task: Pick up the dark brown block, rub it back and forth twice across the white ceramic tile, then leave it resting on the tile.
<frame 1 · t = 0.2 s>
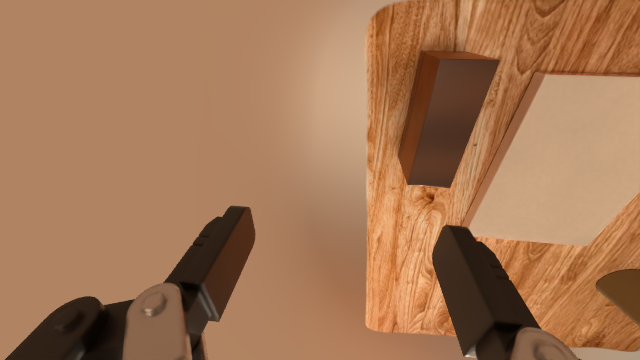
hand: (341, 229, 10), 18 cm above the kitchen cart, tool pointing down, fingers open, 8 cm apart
tile: (560, 170, 26), on the kitchen cart
dark brown block: (427, 110, 24), on the kitchen cart
cork: (620, 280, 35), on the kitchen cart
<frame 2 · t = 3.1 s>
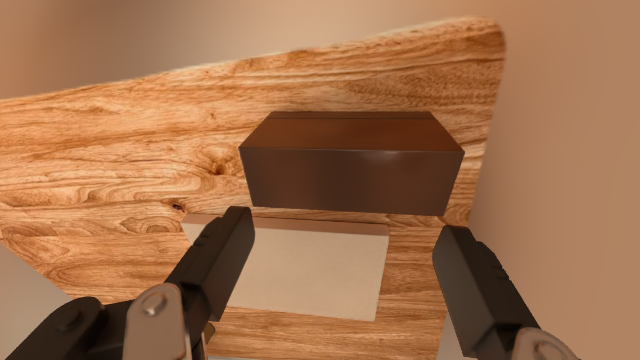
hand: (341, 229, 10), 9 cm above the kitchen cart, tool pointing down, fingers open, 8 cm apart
tile: (290, 266, 27), on the kitchen cart
dark brown block: (346, 138, 17), on the kitchen cart
cork: (197, 324, 39), on the kitchen cart
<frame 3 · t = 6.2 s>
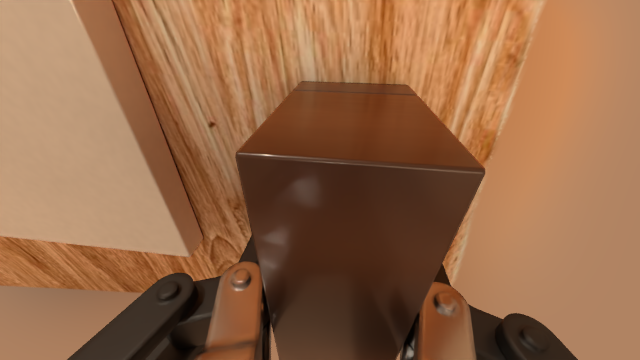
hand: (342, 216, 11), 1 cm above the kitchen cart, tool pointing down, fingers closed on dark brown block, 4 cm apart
dark brown block: (343, 199, 12), on the kitchen cart, touching gripper
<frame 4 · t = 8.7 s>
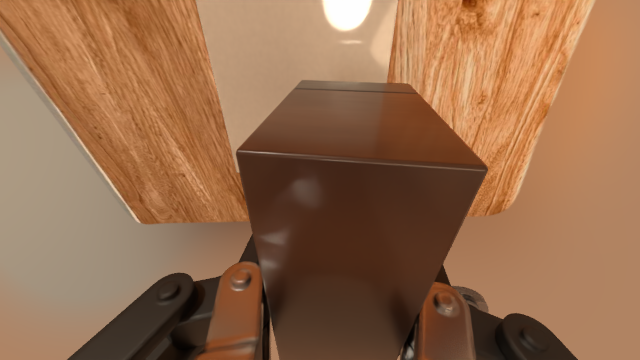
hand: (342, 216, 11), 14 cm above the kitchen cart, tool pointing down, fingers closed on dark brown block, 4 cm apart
tile: (300, 74, 21), on the kitchen cart
dark brown block: (344, 198, 12), point 13 cm above the kitchen cart, touching gripper
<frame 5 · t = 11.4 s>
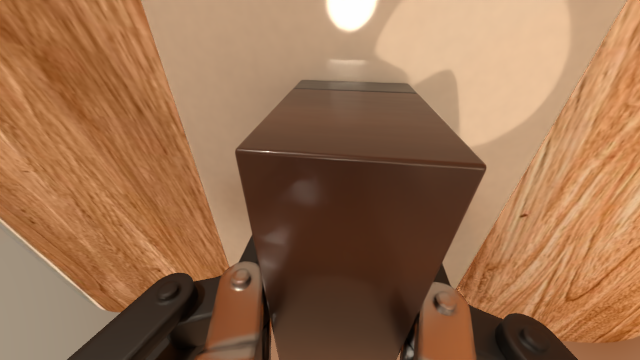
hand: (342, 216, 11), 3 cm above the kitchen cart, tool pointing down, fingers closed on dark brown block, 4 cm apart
tile: (346, 165, 12), on the kitchen cart
dark brown block: (343, 198, 12), point 2 cm above the kitchen cart, touching gripper, tile
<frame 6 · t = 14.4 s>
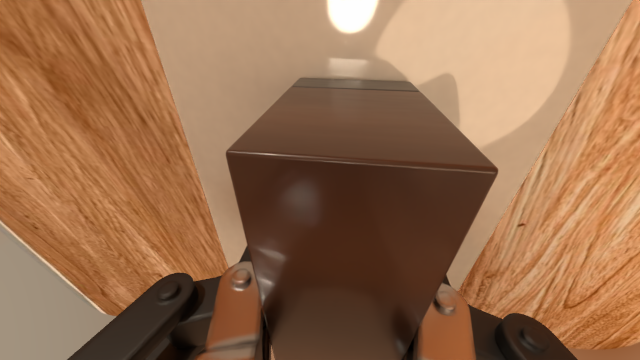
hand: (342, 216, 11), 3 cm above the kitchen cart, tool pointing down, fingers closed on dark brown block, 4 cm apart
tile: (346, 175, 13), on the kitchen cart
dark brown block: (343, 200, 11), point 2 cm above the kitchen cart, touching gripper
when the fingers open (2 cm above the kitchen cart, at t = 16.6 s): dark brown block stays where it is, resting on tile.
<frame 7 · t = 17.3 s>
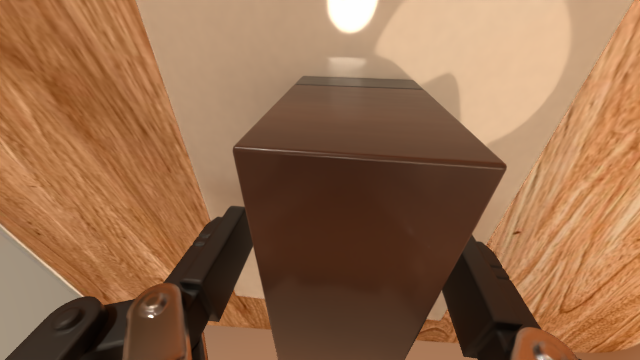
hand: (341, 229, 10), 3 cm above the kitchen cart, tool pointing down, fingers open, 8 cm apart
tile: (344, 184, 13), on the kitchen cart
dark brown block: (345, 198, 11), point 1 cm above the kitchen cart, touching tile
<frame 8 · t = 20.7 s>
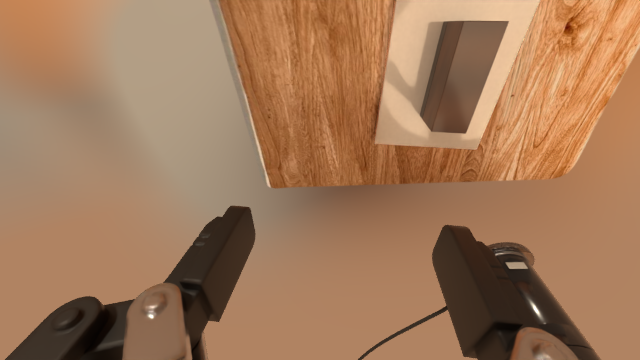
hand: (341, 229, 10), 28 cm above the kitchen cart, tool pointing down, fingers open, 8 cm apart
tile: (441, 73, 31), on the kitchen cart
dark brown block: (446, 73, 30), point 1 cm above the kitchen cart, touching tile
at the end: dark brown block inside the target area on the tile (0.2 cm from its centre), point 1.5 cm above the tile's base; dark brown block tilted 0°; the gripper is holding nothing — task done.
